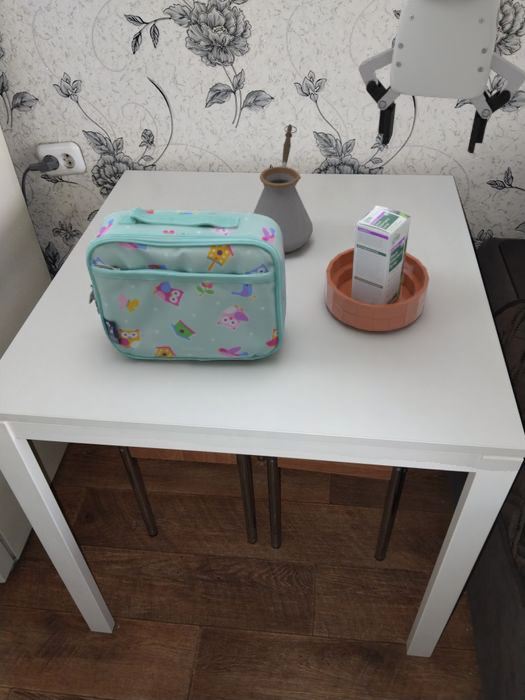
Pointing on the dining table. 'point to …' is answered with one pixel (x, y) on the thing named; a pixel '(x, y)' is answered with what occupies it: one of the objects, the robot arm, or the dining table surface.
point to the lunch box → (189, 284)
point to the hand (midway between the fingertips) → (428, 143)
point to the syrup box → (379, 255)
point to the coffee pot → (285, 201)
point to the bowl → (375, 314)
